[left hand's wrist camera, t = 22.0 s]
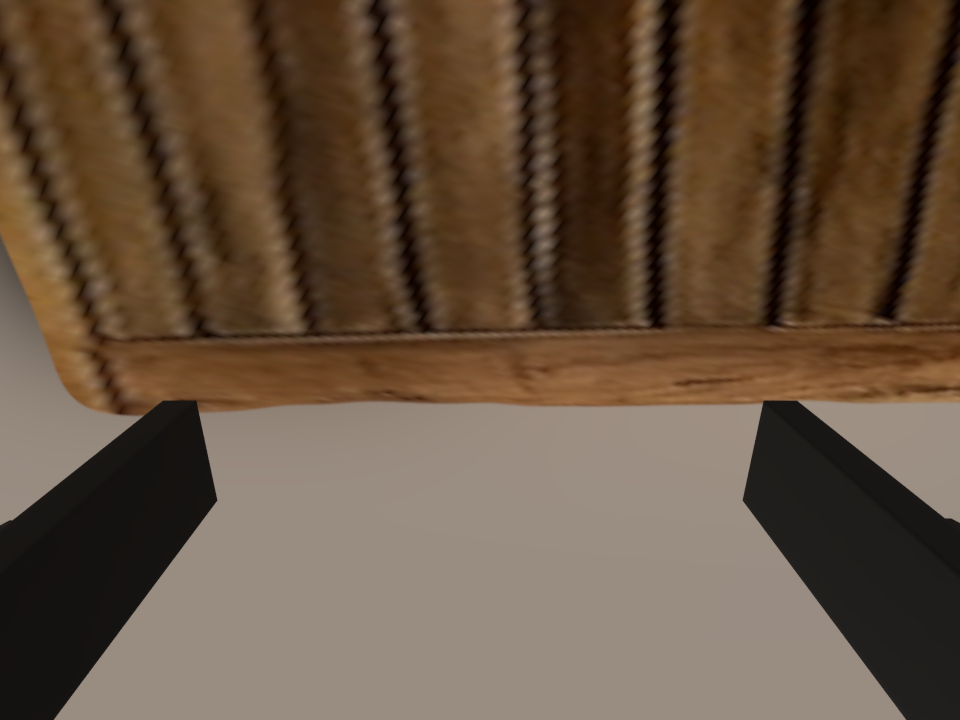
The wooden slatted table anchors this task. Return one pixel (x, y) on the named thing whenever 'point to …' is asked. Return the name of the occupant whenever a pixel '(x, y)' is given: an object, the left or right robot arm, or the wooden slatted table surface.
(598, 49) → the wooden slatted table surface
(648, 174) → the wooden slatted table surface
